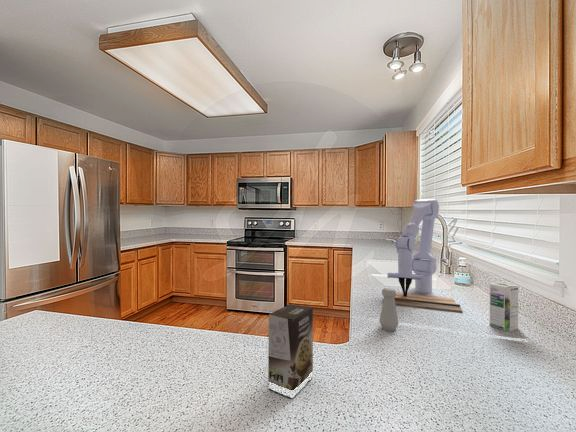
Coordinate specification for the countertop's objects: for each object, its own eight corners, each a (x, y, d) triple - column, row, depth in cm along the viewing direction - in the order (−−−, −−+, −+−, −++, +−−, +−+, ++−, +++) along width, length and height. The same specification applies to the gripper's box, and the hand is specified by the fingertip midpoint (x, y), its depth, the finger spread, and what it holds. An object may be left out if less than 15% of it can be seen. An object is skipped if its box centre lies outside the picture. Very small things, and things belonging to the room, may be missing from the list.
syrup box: (488, 327, 94) (488, 283, 94) (499, 324, 97) (499, 281, 97) (508, 334, 89) (508, 287, 89) (519, 331, 92) (519, 285, 91)
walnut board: (383, 301, 123) (383, 296, 123) (459, 309, 112) (459, 304, 112) (382, 305, 117) (382, 300, 117) (462, 314, 106) (462, 309, 106)
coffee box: (293, 400, 57) (293, 319, 57) (267, 390, 61) (267, 313, 61) (314, 378, 65) (314, 307, 65) (289, 370, 69) (289, 302, 69)
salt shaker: (378, 330, 92) (378, 289, 92) (379, 324, 97) (380, 285, 97) (398, 333, 90) (398, 291, 90) (398, 326, 95) (398, 287, 95)
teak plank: (388, 295, 132) (388, 291, 132) (453, 301, 122) (453, 298, 122) (386, 301, 123) (386, 297, 123) (456, 308, 113) (456, 305, 113)
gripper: (386, 264, 125) (386, 295, 125) (424, 266, 119) (423, 299, 119) (388, 262, 131) (388, 291, 131) (423, 264, 126) (423, 295, 126)
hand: (405, 295), depth 126 cm, fingers closed
